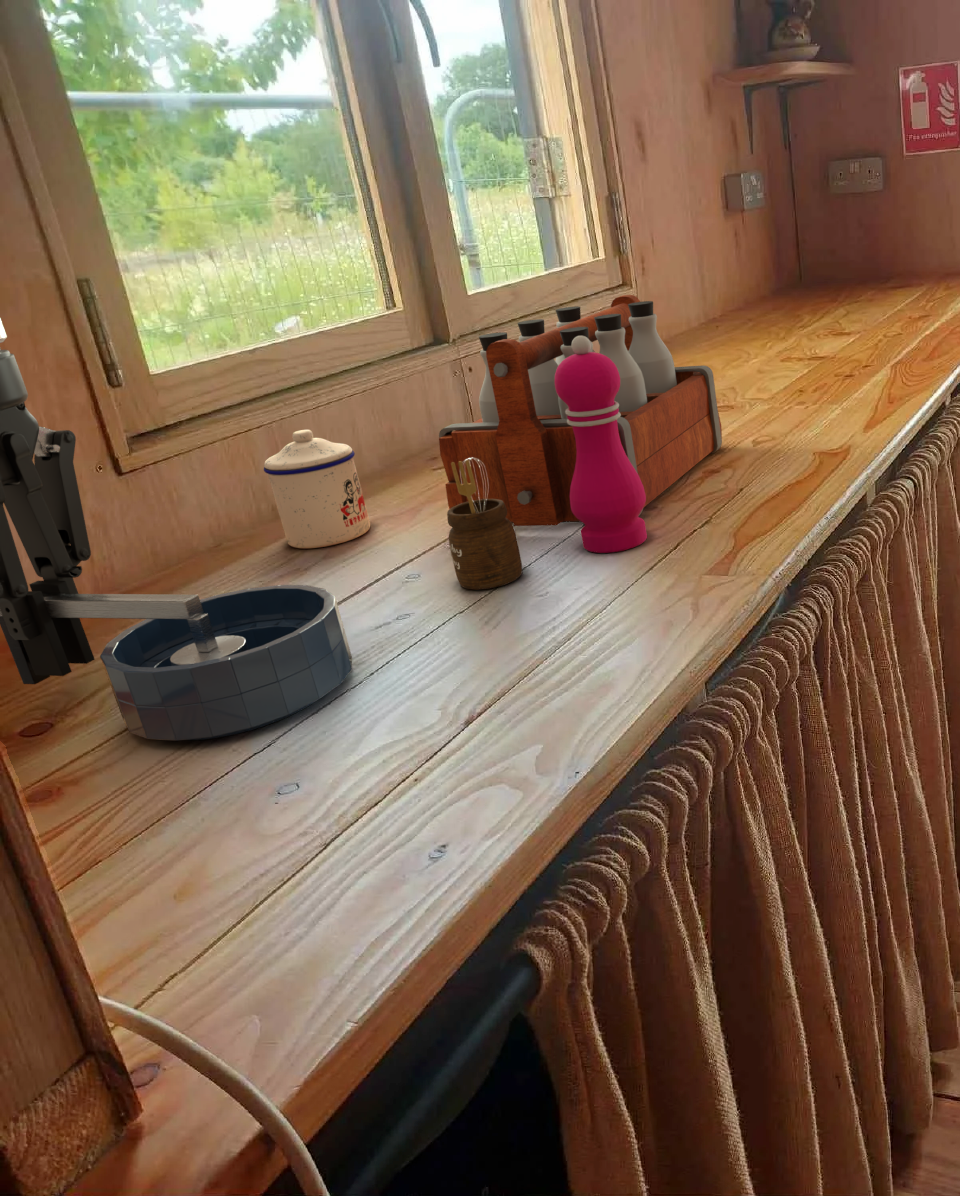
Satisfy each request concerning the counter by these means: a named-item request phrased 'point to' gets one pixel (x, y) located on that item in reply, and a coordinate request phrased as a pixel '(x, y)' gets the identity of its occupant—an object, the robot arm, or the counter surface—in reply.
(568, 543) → the counter surface
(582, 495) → the pepper mill
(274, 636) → the bowl
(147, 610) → the bent grey beam
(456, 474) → the utensil holder
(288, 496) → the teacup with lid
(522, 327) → the milk bottle holder
